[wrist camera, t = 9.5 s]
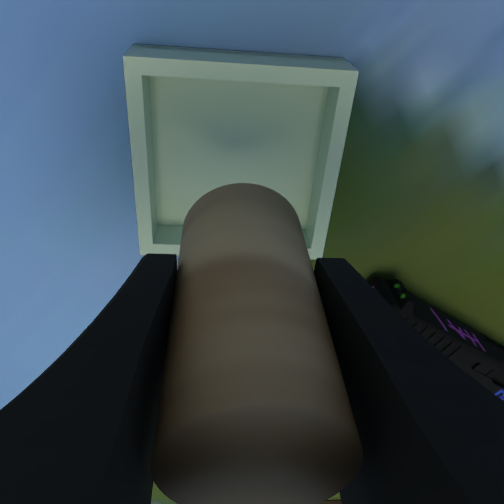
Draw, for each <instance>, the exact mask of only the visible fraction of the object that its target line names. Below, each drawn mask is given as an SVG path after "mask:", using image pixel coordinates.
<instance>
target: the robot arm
mask: <svg viewBox="0 0 504 504" xmlns="http://www.w3.org/2000/svg"><path fill="white" fill-rule="evenodd" d="M176 275H177V257H176V254H154V253H147V254H146V255H145V256H144V257H142V259H141V260H140V262H139V263H138V265H137V266H136V268H135V269H134V270H133V272H132V273H131V275H130V276H129V277H128V279H127V280H126V281H125V283H124V284H123V285H122V286H121V288H120V289H119V290H118V292H117V293H116V294H115V295H114V297H113V298H112V299H111V300H110V301H109V303H108V304H107V305H106V306H105V307H104V309H103V310H102V311H101V312H100V313H99V315H98V316H97V317H96V318H95V319H94V321H93V322H92V323H91V324H90V325H89V326H88V327H87V328H86V329H85V330H84V331H83V332H82V334H81V335H80V336H79V337H78V338H77V339H76V340H75V341H74V342H73V343H72V344H71V345H70V346H69V347H68V348H67V350H66V351H65V352H64V353H63V354H62V355H61V356H60V357H59V358H58V359H57V360H56V361H55V362H54V363H53V364H51V365H50V366H49V367H48V368H47V369H46V370H45V371H44V372H43V373H42V374H41V375H40V376H39V377H38V378H37V379H35V380H34V381H33V382H32V383H31V384H30V385H29V386H28V387H27V388H26V389H24V390H23V391H22V392H21V393H20V394H19V395H18V396H17V397H15V398H14V399H13V400H12V401H11V402H9V403H8V404H7V405H6V406H5V407H3V408H2V409H1V410H0V504H151V496H152V487H153V481H154V480H153V477H152V475H151V461H152V453H153V446H154V438H155V431H156V423H157V416H158V408H159V401H160V393H161V386H162V378H163V371H164V364H165V356H166V349H167V341H168V334H169V326H170V319H171V311H172V304H173V297H174V290H175V282H176ZM314 275H315V279H316V282H317V286H318V290H319V293H320V297H321V301H322V304H323V308H324V311H325V315H326V319H327V322H328V326H329V329H330V333H331V337H332V340H333V344H334V348H335V351H336V355H337V358H338V362H339V366H340V369H341V373H342V377H343V380H344V384H345V387H346V391H347V395H348V398H349V402H350V405H351V409H352V413H353V416H354V420H355V424H356V427H357V431H358V434H359V438H360V442H361V445H362V449H363V460H362V464H361V467H360V469H359V471H358V473H357V475H356V476H355V478H354V479H353V480H352V481H351V482H350V483H349V484H348V485H347V486H346V487H345V488H344V489H342V490H341V491H340V497H341V503H342V504H504V401H503V400H502V399H500V398H499V397H497V396H496V395H495V394H493V393H492V392H491V391H489V390H488V389H487V388H485V387H484V386H483V385H482V384H480V383H479V382H478V381H476V380H475V379H474V378H472V377H471V376H470V375H468V374H467V373H466V372H464V371H463V370H462V369H461V368H459V367H458V366H457V365H456V364H454V363H453V362H452V361H451V360H450V359H448V358H447V357H446V356H445V355H444V354H443V353H441V352H440V351H439V350H438V349H437V348H436V347H435V346H433V345H432V344H431V343H430V342H429V341H428V340H427V339H425V338H424V337H423V336H422V335H421V334H420V333H419V332H418V331H417V330H415V329H414V328H413V327H412V326H411V325H410V324H409V323H408V322H407V321H406V320H405V319H404V318H403V317H402V316H401V315H400V314H399V313H397V312H396V311H395V310H394V309H393V308H392V307H391V306H390V305H389V304H388V303H387V302H386V301H385V300H384V299H383V298H382V297H381V296H380V295H379V294H378V293H377V291H376V290H375V289H374V288H373V287H372V286H371V285H370V284H369V283H368V282H367V281H366V280H365V279H364V278H363V277H362V276H361V275H360V274H359V273H358V272H357V271H356V270H355V269H354V268H353V267H352V266H351V265H350V264H349V263H348V262H347V261H346V260H345V259H344V258H317V259H316V264H315V270H314Z"/></svg>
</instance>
